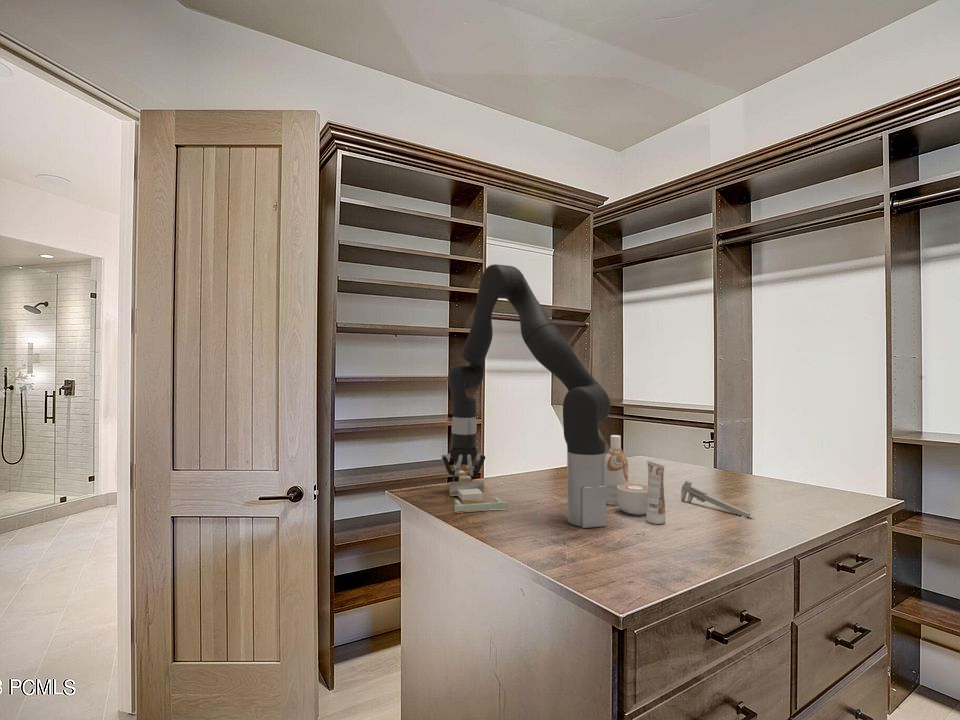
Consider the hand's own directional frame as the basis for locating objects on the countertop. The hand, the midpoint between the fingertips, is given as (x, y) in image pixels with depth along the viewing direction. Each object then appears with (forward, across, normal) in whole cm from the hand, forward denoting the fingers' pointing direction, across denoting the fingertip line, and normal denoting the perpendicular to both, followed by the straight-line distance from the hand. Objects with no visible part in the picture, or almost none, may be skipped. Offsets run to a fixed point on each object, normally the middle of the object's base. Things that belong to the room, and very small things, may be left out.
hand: (462, 487), depth 158 cm
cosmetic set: (0, +39, -32) cm, 51 cm away
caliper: (-1, +62, -35) cm, 71 cm away
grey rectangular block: (+1, 0, +1) cm, 1 cm away
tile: (+1, 0, -9) cm, 9 cm away
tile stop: (0, 0, -19) cm, 19 cm away
